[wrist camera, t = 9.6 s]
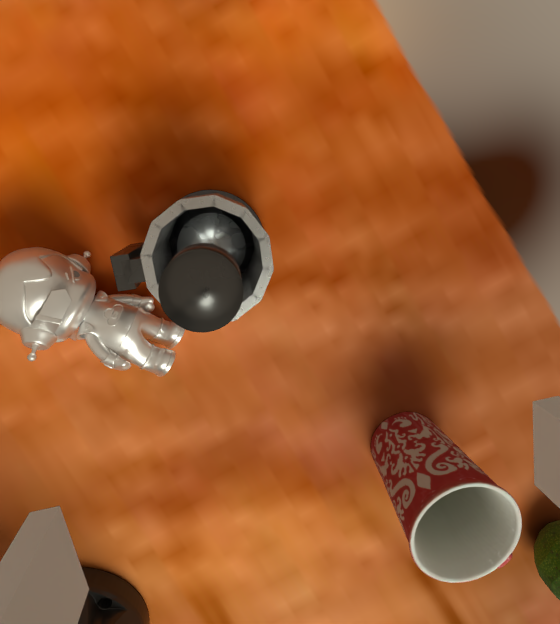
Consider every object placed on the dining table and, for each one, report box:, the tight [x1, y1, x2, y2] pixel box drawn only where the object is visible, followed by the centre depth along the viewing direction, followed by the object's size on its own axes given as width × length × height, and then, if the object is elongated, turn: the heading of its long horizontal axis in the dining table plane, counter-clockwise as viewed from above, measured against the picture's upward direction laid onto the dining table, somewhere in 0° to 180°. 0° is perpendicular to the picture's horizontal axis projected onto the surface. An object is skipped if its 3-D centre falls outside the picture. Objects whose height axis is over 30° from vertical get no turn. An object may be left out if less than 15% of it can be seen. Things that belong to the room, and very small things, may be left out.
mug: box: [371, 412, 522, 583], centre depth 42 cm, size 13×9×14 cm
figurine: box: [0, 247, 185, 377], centre depth 38 cm, size 11×7×15 cm
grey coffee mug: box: [110, 190, 274, 321], centre depth 36 cm, size 11×9×10 cm
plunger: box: [158, 213, 246, 332], centre depth 30 cm, size 6×6×17 cm
